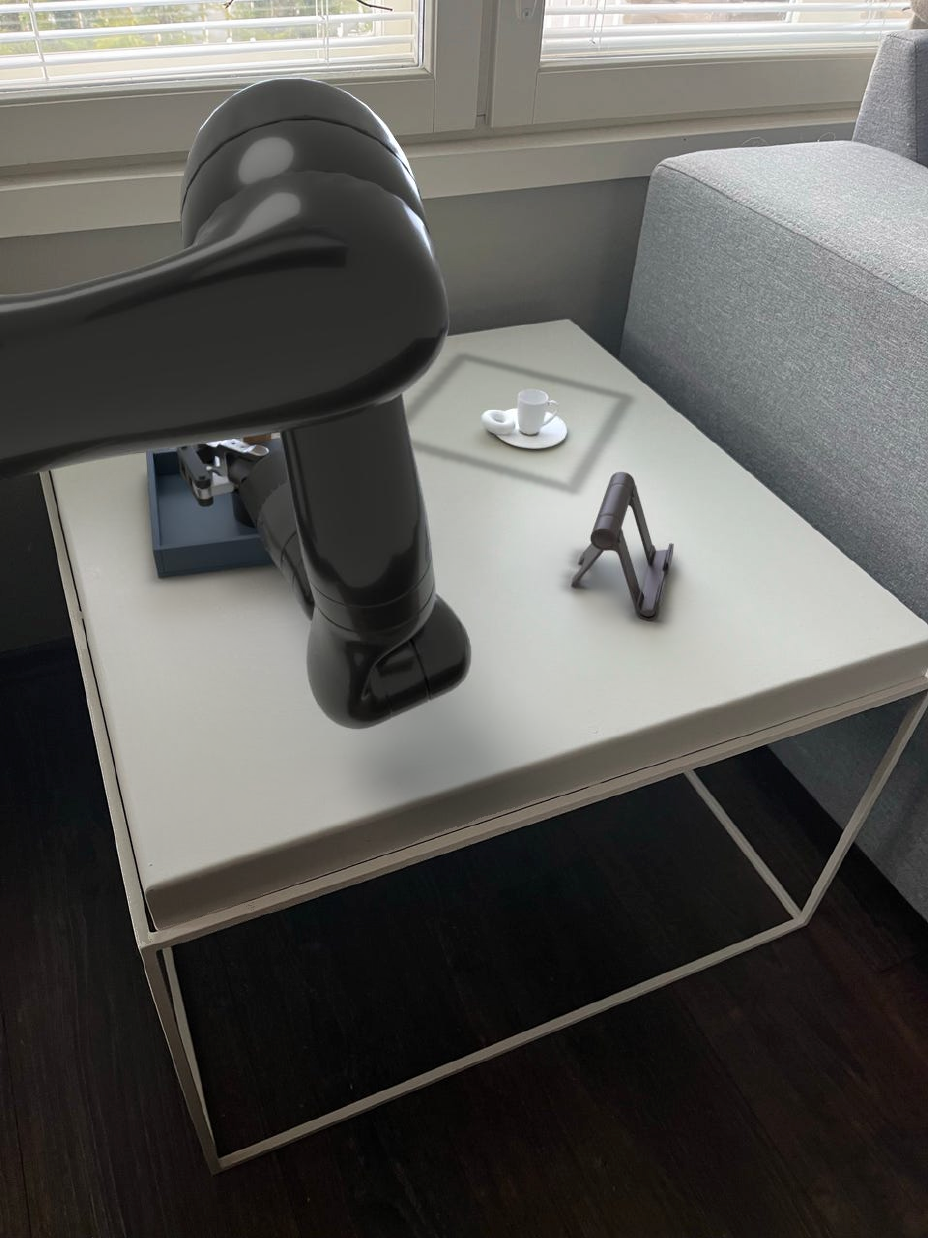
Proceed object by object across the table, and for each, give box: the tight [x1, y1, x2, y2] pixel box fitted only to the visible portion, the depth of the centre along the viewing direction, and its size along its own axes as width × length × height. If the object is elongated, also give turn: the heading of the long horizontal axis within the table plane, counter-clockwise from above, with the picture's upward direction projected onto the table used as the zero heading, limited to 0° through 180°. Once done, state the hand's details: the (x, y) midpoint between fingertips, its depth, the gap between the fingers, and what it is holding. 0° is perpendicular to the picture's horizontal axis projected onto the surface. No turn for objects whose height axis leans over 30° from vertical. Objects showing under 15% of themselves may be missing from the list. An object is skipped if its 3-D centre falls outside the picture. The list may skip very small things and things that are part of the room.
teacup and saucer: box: [480, 388, 568, 450], centre depth 101 cm, size 9×8×4 cm
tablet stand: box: [570, 471, 675, 622], centre depth 82 cm, size 9×8×8 cm
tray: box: [145, 438, 276, 579], centre depth 88 cm, size 19×15×3 cm
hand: (246, 414), depth 84 cm, fingers open, 8 cm apart
